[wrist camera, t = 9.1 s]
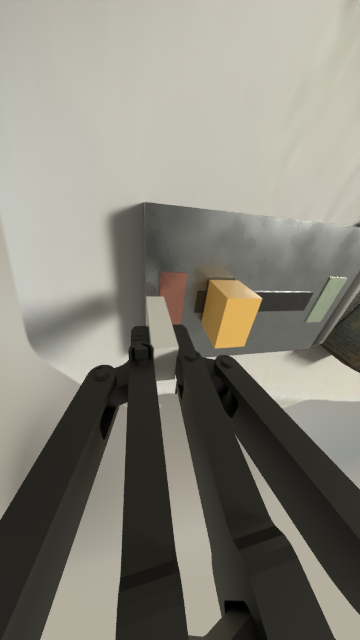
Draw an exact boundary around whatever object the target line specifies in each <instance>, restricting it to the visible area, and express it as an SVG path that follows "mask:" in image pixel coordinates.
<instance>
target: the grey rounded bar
mask: <svg viewBox="0 0 360 640" xmlns="http://www.w3.org/2000/svg"><path fill="white" fill-rule="evenodd" d="M359 290H360V271H359V273H358V274H357V276H356V277H355V279H354V280H353V282H352V283H351V285H350V286H349V288H348V290H347V291H346V293H345V294H344V296H343V297H342V299H341V300H340V302H339V303H338V305H337V307H336V308H335V310H334V311H333V313H332V314H331V316H330V317H329V319H328V320H327V322H326V324H325V325H324V327H323V328H322V330H321V331H320V333H319V334H318V336H317V337H316V339H315V341H314V342H313V344H312V345H311V347H310V348H315V347H317V346H318V345H319V344H322V343H323V342H324V341H325V339H326V338H327V336H328V335H329V334H330V332H331V331H332V329H333V328H334V326H335V325H336V323H337V322H338V320H339V319H340V317H341V316H342V315H343V313H344V312H345V310H346V309H347V307H348V306H349V304H350V303H351V301H352V300H353V299H354V297H355V296H356V294H357V293H358V291H359Z"/></svg>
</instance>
